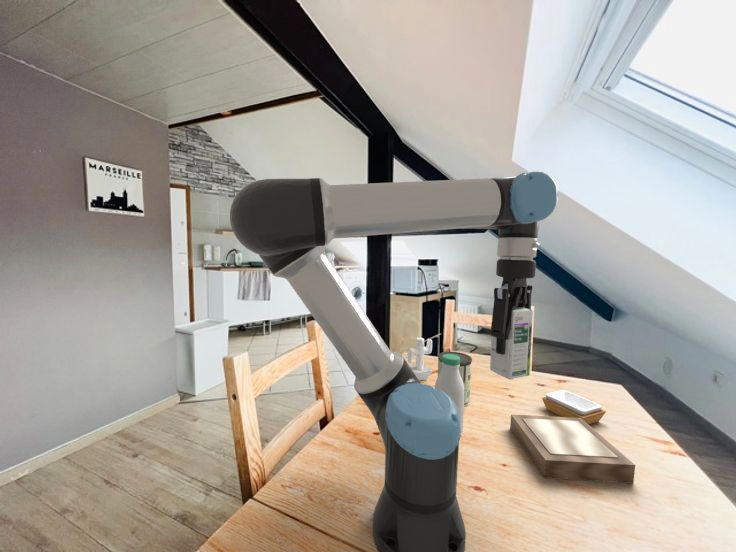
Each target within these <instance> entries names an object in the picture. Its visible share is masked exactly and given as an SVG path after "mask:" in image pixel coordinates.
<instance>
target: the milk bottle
mask: <svg viewBox="0 0 736 552" xmlns="http://www.w3.org/2000/svg"><path fill="white" fill-rule="evenodd" d="M459 366H460V357H459V356H457V355H453V354H444V355H442V369H441V372H440V374H439V376H438V375H437V378H436V381H435V384H434V389H440V390H441V391H443V392H445V393H446V394H447V395H448V396H449V397H450V398H451V399H452V400H453V401H454V403H455V404H456V406H457V408H458V412H459V422H460V436H461V435H462V433H463V429H464V415H465V407H464V384H463V381H462V378H461V376H460V373H459Z"/></svg>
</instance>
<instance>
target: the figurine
mask: <svg viewBox="0 0 736 552" xmlns="http://www.w3.org/2000/svg"><path fill="white" fill-rule="evenodd" d="M415 343H416V346H415V347H410V348H408V349H407V363H409V364H410V365H409V364H408V365H409V366H410V368H411V369H412V371H413V372H414V374H415V375H416V377H417V378H418V380H419V381H427V380H428V379H429V377H430V376H431V375H432V373H433V372H434V370H433V369H431V368H430V367H428V366H427V365H426V364H424V355H430V354H432V351H433V340H432V339H431V338H427V340H426V346H425V338H423V337H416V342H415ZM414 356H415V364H412V363H413V359H414ZM426 379H427V380H426Z"/></svg>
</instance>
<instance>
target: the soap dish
mask: <svg viewBox="0 0 736 552" xmlns="http://www.w3.org/2000/svg"><path fill="white" fill-rule="evenodd" d="M541 399H542V401H543V405H544V406H545V408H546V410H547V411H549V412H551V413H553V414H555V415H557V416H558V417H571V418H581V419H583V420H584V421H585V422H586V423H587V424H588V425H592V424H595V423H598V422H600V421H601V419H602V418H603V417H604V415H605V414H606V413H607V411H606V410H604V409H602V405H600V404H598V403H597V402H594V401H592V400H590V399H587V398H586V397H582V396H581V395H577V394H575V393H573V392H570V391H568V390H565V389H563V390H558V391H552V392H548V393H545V396H544V397H543V396H542V397H541Z"/></svg>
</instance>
